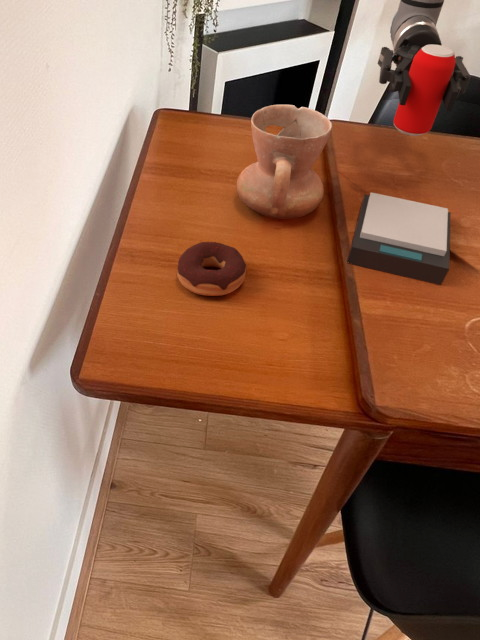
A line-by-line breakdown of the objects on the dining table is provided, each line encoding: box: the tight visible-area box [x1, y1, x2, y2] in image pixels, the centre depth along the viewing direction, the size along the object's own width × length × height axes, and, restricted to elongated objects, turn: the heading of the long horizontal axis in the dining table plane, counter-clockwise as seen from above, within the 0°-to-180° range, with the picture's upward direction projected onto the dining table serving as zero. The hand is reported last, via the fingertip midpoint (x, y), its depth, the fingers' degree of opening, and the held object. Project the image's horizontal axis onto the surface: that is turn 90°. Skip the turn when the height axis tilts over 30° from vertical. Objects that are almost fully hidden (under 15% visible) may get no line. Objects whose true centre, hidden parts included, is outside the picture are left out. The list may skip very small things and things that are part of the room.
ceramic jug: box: [236, 104, 333, 220], centre depth 85 cm, size 18×14×14 cm
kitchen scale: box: [346, 191, 452, 286], centre depth 83 cm, size 16×14×4 cm
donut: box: [176, 241, 247, 297], centre depth 75 cm, size 10×10×4 cm
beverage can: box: [393, 44, 456, 137], centre depth 82 cm, size 6×6×12 cm
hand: (428, 98), depth 78 cm, fingers closed on beverage can, 6 cm apart
